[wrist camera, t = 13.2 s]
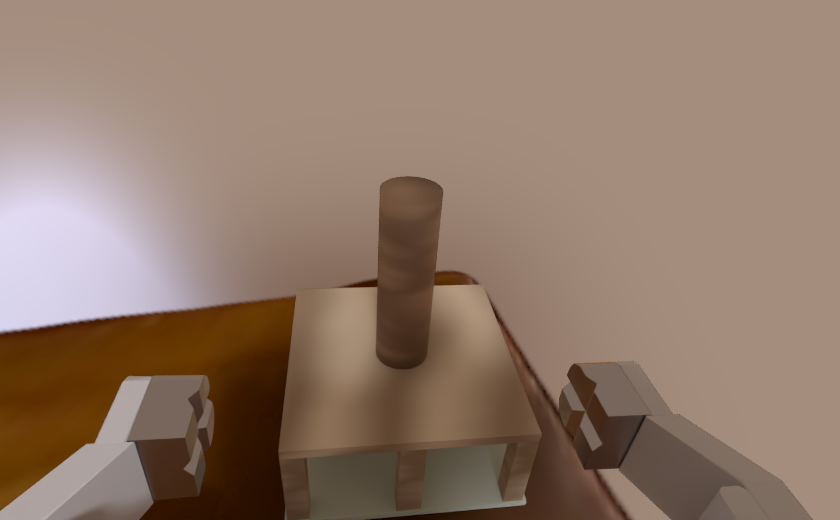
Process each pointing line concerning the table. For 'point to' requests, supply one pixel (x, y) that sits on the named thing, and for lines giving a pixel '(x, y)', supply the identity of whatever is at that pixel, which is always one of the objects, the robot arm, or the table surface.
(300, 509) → the wooden peg stand
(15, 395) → the table surface
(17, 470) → the table surface
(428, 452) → the mat
